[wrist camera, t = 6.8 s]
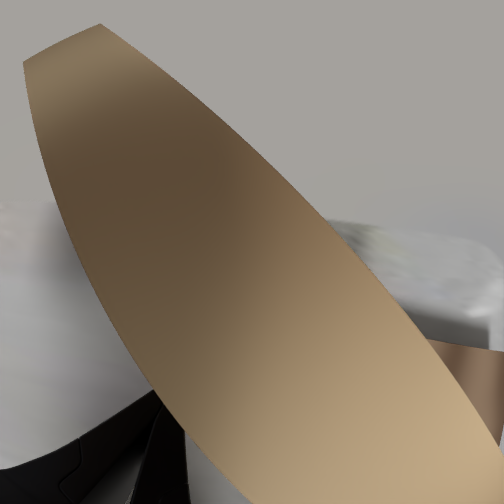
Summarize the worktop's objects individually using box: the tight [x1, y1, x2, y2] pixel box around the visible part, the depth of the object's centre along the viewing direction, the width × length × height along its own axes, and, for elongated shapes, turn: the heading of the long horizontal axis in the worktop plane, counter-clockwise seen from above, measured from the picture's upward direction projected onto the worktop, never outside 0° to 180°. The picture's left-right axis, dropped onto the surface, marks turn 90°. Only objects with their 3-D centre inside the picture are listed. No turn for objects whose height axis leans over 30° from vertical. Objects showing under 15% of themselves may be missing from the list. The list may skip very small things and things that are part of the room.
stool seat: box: [426, 339, 504, 447], centre depth 12 cm, size 13×14×2 cm
